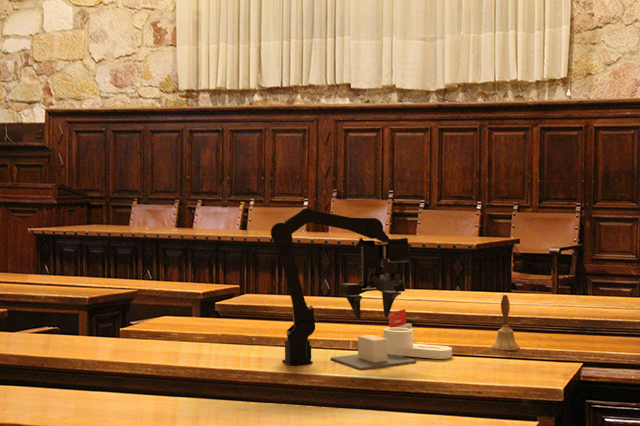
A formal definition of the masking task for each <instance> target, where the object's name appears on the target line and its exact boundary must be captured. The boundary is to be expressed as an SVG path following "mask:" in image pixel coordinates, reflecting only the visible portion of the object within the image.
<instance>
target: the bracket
mask: <svg viewBox="0 0 640 426" xmlns="http://www.w3.org/2000/svg"><path fill="white" fill-rule="evenodd" d="M382 330H383V331H382V335H383V337H382V338H385V339H387V354H390V355H399V356H402V357H413V358H422V359H423V358H427V359H437V360H446V359H450V358H452V357H453V347H451V346H447V345H435V344H424V343H414V333H415V332H414V329H413V328H412V329H408V328H390V327H385V328H383V329H382Z"/></svg>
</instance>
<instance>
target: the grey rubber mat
mask: <svg viewBox="0 0 640 426" xmlns="http://www.w3.org/2000/svg"><path fill="white" fill-rule="evenodd" d="M330 360H331V361H334V362H336V363H338V364H342V363H343V364H342V365H344V364H346V365H345V366H347V365H349V366H348V367H350V366H352V367H351V368H353V367H354V369H356V368H357V370H359V369H360V370H359V371H364V369H365V370H371V368H373V369H380V368H387V367H386V366H388V367H394V366H395V365H396V366H402V365H401V364H403V365H409V364H408V363H411V364H416V363H417V360H415V359H412V358H408V357H406V356H400V355H390V354H387V361H381V362H371V361H368V360H364V359H361V358H358V353H356V354H349V355H341V356H334V357H332V356H331V357H330ZM379 367H380V368H379Z"/></svg>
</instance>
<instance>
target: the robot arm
mask: <svg viewBox="0 0 640 426" xmlns="http://www.w3.org/2000/svg"><path fill="white" fill-rule="evenodd" d="M308 223H311V224H316V225H320V226H326V227H329V228H330V227H331V228H337V229H342V230H348V231H350V232H352V233H355V234H358V235H360V236H363V237H365V238H368V240H364V239H363V238H362V237H359V238H358V240H357V241H356V242H355V243H354V246H355V247H358V248H361V265H359V266H358V267H359V271H361V280H359V283H353V282H349V283H348V282H347V283H346V282H344V283H340V285H339V287H338V295H342V297H343V298H346V300H347V301H348V303H349V305H350V307H351V309H352V311H353V314H354V315H355V319H356V320H357V321H361V316H362V315H361V301H362V298H363V296H362V295H360V294H362V292H363V293H364V292H374V291H378V292H381V297H382V305H383V309H382V310H383V315H384V318H389V313H391V310H392V309H391V308H392V306H393V304H394V302H395V299H396V298H397V297H398V296H399V295H401V294H402V292H406V284H405V283H404V281H403V280H401V279H400V278H401V275H400V273H398V272H396V271H395V272H391V273H387V271H386V269H387V268H386V266H384V265H383V259H385V260H387V262H388V263H409V262H410V259H411V249H410V246H409V238H408V237H400V238H389V235H388V234H387V233H386V232H385V231H384V225H383V223H382V221H381V220H380V219H378V218H376V217H372V216H371V217H369V216H367V217H366V216H365V217H363V216H356V217H355V216H353V217H352V216H346V215H345V216H344V215H340V214H334V213H330V212H325V211H320V210H314V209H311V208H308V207H304V208H302V209H301V210H300V211H299V212H297V213H295V214H294V215H293V216H291V217H289V218H287V220H285V221H278V222H276V223H274V224H273V225H272V227H271V228H270V236H271V239H272V241H273V243H274V245H275V248H276V250H277V252H278V254H279V256H280V259H281V260H280V261H281V263H282V268H283V271H284V275H285V279H286V284H287V288H288V291H289V296H290V298H291V304H292V318H293V324H292V325H291V326H290V327H289V328H288V329H287V330H286V331H285V332H286V337H287V339H285V340H284V359H282V363H285V364H287V365H290V366H299V365H298V364H301V365H308V364H313V363H314V362H313V361H314V360H312V345H311V344H310V343H311V341H310V340H309V337H310V336H311V335H313V334H314V332H315V330H316V323H318V320H317V319H316V317H315V311H314V307H313V305H309V306H308V304H307V303H306V300H305V295H304V293H303V292H304V291H303V288H302V284H301V280H300V277H299V272H298V269H297V264H296V260H295V256H294V245H293V234H294V233H295V232H297V231H299V230H300V229H301V228H303V226H305V225H306V224H308ZM369 239H372V240H369ZM373 239H374V240H373ZM375 239H376V240H377V241H379V242H381V243H376V242H375Z"/></svg>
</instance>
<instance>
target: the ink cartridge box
mask: <svg viewBox="0 0 640 426" xmlns="http://www.w3.org/2000/svg"><path fill="white" fill-rule="evenodd" d="M397 314H398V315H399V316H396V315H397ZM406 315H407V313H406V308H405V309H399V310H395V311H393V312H392V311H391V312H390V313H389V315H388V322H389V324H388V325H389V328H408V329H412V330H413V324H412V323H407V316H406Z"/></svg>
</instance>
